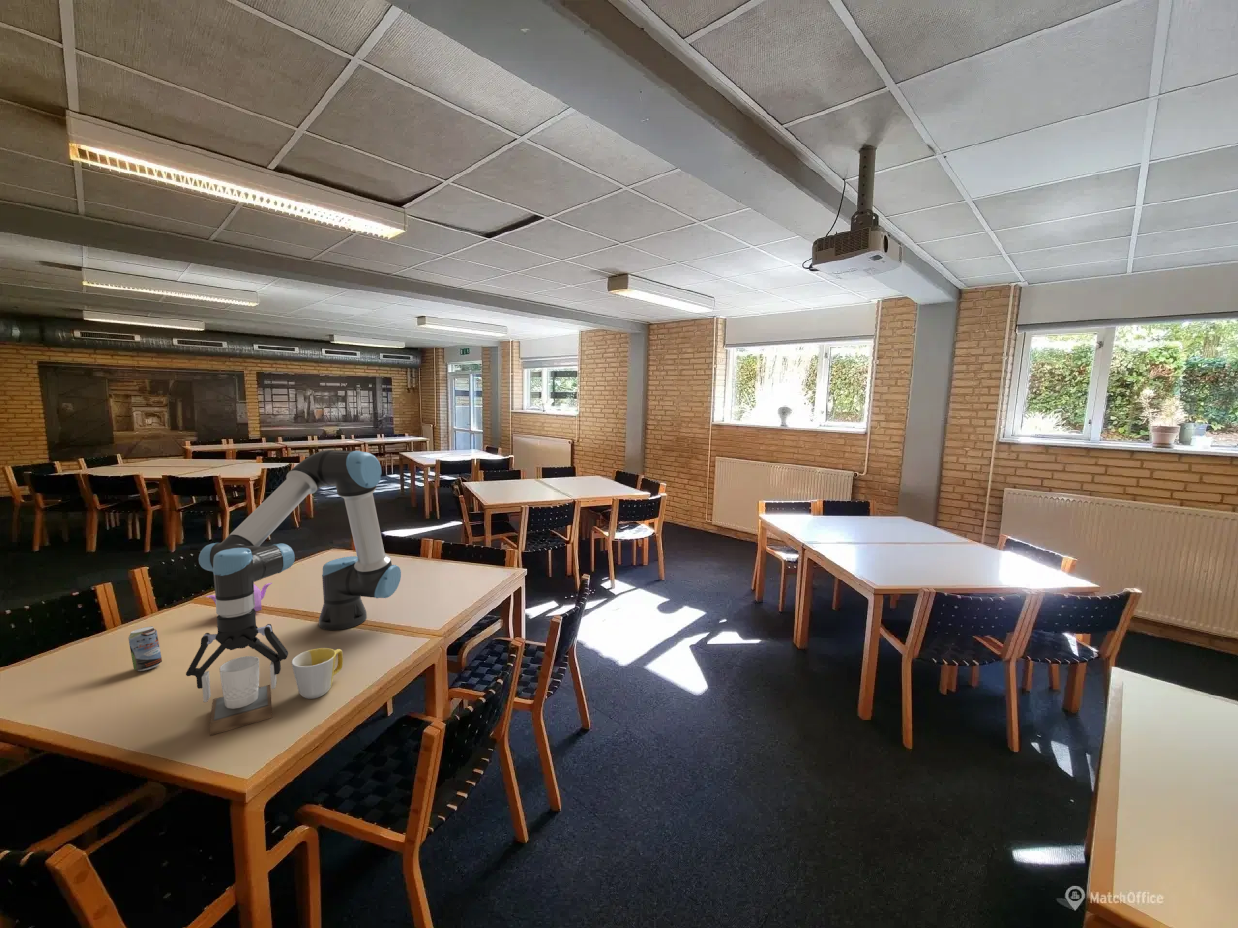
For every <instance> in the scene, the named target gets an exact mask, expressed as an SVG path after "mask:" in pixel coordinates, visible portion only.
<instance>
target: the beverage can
mask: <svg viewBox="0 0 1238 928" xmlns="http://www.w3.org/2000/svg"><path fill="white" fill-rule="evenodd" d="M128 644H129V649H130V650H129V651H130V655H131V659H132V660H131V662H132V667H133V670H134V671H138V672H144V671H147V670H151V669H154V668H156V667H158V666H160V663H162V662H163V658H162V654H161V646H160V641H159V637H158V631H157V629H156V628H155V627H154V626H151V625H150V626H145V627H140V628H137V629H134V630H132V631H130V635H128Z"/></svg>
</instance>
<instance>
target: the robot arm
mask: <svg viewBox="0 0 1238 928" xmlns="http://www.w3.org/2000/svg"><path fill="white" fill-rule="evenodd" d="M381 476H382V466H381V464H380V461H379V460H378V458H377V457H376V455H374V454H372V453H371V452H367V451H360V450H333V449H324V450H321V451H318V452H316V453H313V454H311V455H309V456H307V457H305V459H303V460H302V461H299V463H297V464H296V465H295V466H294V467H293V468H291V470H289V471H288V472H287V474H286V477H285V478H286V479H285V480H284V481H283V482H282V483H281V484H280V485H279V486H278V487H277V488H276V489H275V490H274V491H273V492H272V493H270V495H268V497H266V499H264V501H262V503H260V505H258V507H257V508H255V510H253V511H252V512H251V513H250V514H249V515H248V516H247V517H246V518H245V519H244V520H243V521H241V523H240V524H239V525H238V526H237V527H236V528H234V530H233V531H232V532H231V533H230V534H229V535H228V536H227V537H225V539H224V540H222V542H215V543H214V542H213V543H210V544H207V545H205V546H204V547H202V549H201V550H200V553H199V555H198V564H199V565H200V567H201V568H202V569H203V570H205V571H209V572H212V573H213V575H212V576H213V583H214V584H213V585H214V595H215V597H216V604H215V610H216V611H215V613H216V615H217V617H216V625H217V632H216V633H212V634H211V633H209V632H206V633H204V634H203V636H202V637H201V638H200V646H199V648H198V650H197V652H196V654H195V656H194V657H193V660H192V661H191V663H190V665H189V667H188V669H187V671H186V672H185V676H187V677H191V676H195V678H196V687H197V689H200V690H201V689H202V699H203V703H207V702H208V701H209V700H210V697H211V696H212V695H211V681H210V671H209V670H208V669H209V668H210V667H211V665H212V664H214V662H215V661H216V660H217V659H218V658H219V656H221V655H222V653H223V652H224V651H225V650H229V651H235V650H236V649H245V648H247V647H249V648H250V649H252V650H253V649H254V650H255V651H256V652H258V653H259V654H261V655H262V656H263V657H265V658H266V659H268V660H269V661H270V664H269V673H270V686H271V690H275V689H276V686H277V675H279V674H280V673H281V669H282V667H281V666H282V665H281V661H283V660H287V658H288V657H289V651H288V650H287V648H286V647H285V645H284V644H283V643H282V642H281V640H280V639H279V638H278V636H277V635H276V634H275V632H274V630H273V626H272V624H271V623H267V624H266V625H265V626H261V627H258V626H257V622H256V621H257V619H256V614H255V613H256V611H255V609H253V608H254V607H255V600H254V584H255V582H259V581H261V580H263V579H266V578H268V577H271V576H273V575H274V576H275V575H276V574H280V573H283V572H284V571H286V570H288V569H290V568H291V567H293V565H294V563H295V560H296V559H295V557H296V556H295V552H294V550H293V548H292V547H291V546H290V545H288V544H286V543H274V544H271V545H269V546H261V545H262V544H263V543H264V542H265V540H267V538H269V536H270V535H271V534H273V532H274V531H275V530H276V529H277V528H278V527H279V526H280V525H281V524H282V523H283V522H284V521H285V519H287V517H288V516H290V514H291V513H292V512H293V511H294V510H295V509H296V508H297V507H298V506H299V505H300V504H301V503H302V502H303V501H304V499H305V498H306V497H307V496H309V495H312V494H315V493H316V492H317V491H318V490H319V489H320V488H322V487H325V486H333V487H334V486H335V489H336V493H337V495H338V496H339V497H340V498H342V499H344V504H345V508H346V513H347V517H348V522H349V526H350V531H351V535H352V540H353V545H354V550H355V554H356V556H355V555H354V556H352V555H351V556H344V557H340V558H339V557H338V558H335V559H332V560H330V561H328V562H326V563H325V564H323V566H322V575H321V578H322V590H323V591H322V593H323V606H322V609H321V612H320V615H319V618H318V626H319V628H320V629H321V630H326V631H341V630H346V629H351V628H354V627H355V626H356V627H357V626H359V625H361V624H362V623H364V622H365V621H366V620H367V618H368V617H367V615H368V614H367V610H366V607H365V606H364V603H363V600H362V598H361V597H364V598H365V597H366V598H374V599H388V598H390V597H391V596H392V595H393V594H394V593H396V591H397V589H398V587H399V585H400V582H401V577H402V570H401V567H399V566H398V565H397V564H392V559H391V556H390V555H389V554H387V553H386V552H385V549H384V544H383V538H382V534H381V533H382V532H381V529H380V523H379V519H378V514H377V508H376V503H375V497H374V492H375V491H376V489H377V486H378V484H379V483H380V481H381V480H382V477H381ZM363 621H364V622H363ZM258 634H261V635H262V637H264V636H265V639H266V640H267V641H268V642H269V644H270V646H271V647H272V648H273V649H272V648H271V647H269V646H268V645H266V643H264V642H262V641H261V640H260V639H259V638H258V637H257V635H258ZM215 640H216V642H218V643H219V644H220V645H219V646H218V647H217V649H216V650H215V651H214V652H213V653H212V654H211V655H210V656H209V657H208V658H207V660H206V661H205V662H204V663H203V664H202V665H201V666H200V667H198V665H199V663H200V661H201V659H202V658H203V656H204V654H205V652H206V650H207V649H208V646H209V645H210V644H212V643H213V642H214V641H215ZM274 650H275V651H274Z"/></svg>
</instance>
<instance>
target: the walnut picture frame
mask: <svg viewBox="0 0 1238 928" xmlns="http://www.w3.org/2000/svg"><path fill="white" fill-rule="evenodd" d="M258 691H259V695H258V699H257V700H256V701H255V702H253V703H251V704H249V705H247V706H244V707H241V708H236V709H230V708H227V707H226V706H225V702H224V696H223V695H222V696H220V697H216V698H213V699H212V703H211V708H210V709H211V711H210V716H209V718H210V719H209V732H210V733H209V734H210V736H213V735H217V734H220V733H223V732H228V731H231V730H234V729H238V728H241V727H244V726H245V727H246V726H248V725H251V724H255V723H258V722H262V721H265V720H269V719H272V718H273V703H272V689H271V684H267V685H266V684H265V685H263V686H259V688H258Z"/></svg>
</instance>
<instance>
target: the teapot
mask: <svg viewBox="0 0 1238 928" xmlns="http://www.w3.org/2000/svg"><path fill="white" fill-rule="evenodd" d="M272 584H273V582H268V583H266V584H264V585H263V586H262V588H261V589H260V588H259V586H257V585H256V584H255V583H254V600H255V607H254V608H253V609H255V615H257V613H256V612H258V611H263V609H262V600H263V599H264V598H265V595H266V592H267V589H268V587H269V586H271V585H272ZM205 597H206V598H210V599H212V600H213V602H214V604H215V605H216V597H215V594H212V595H211V594H210V595H205Z"/></svg>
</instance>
